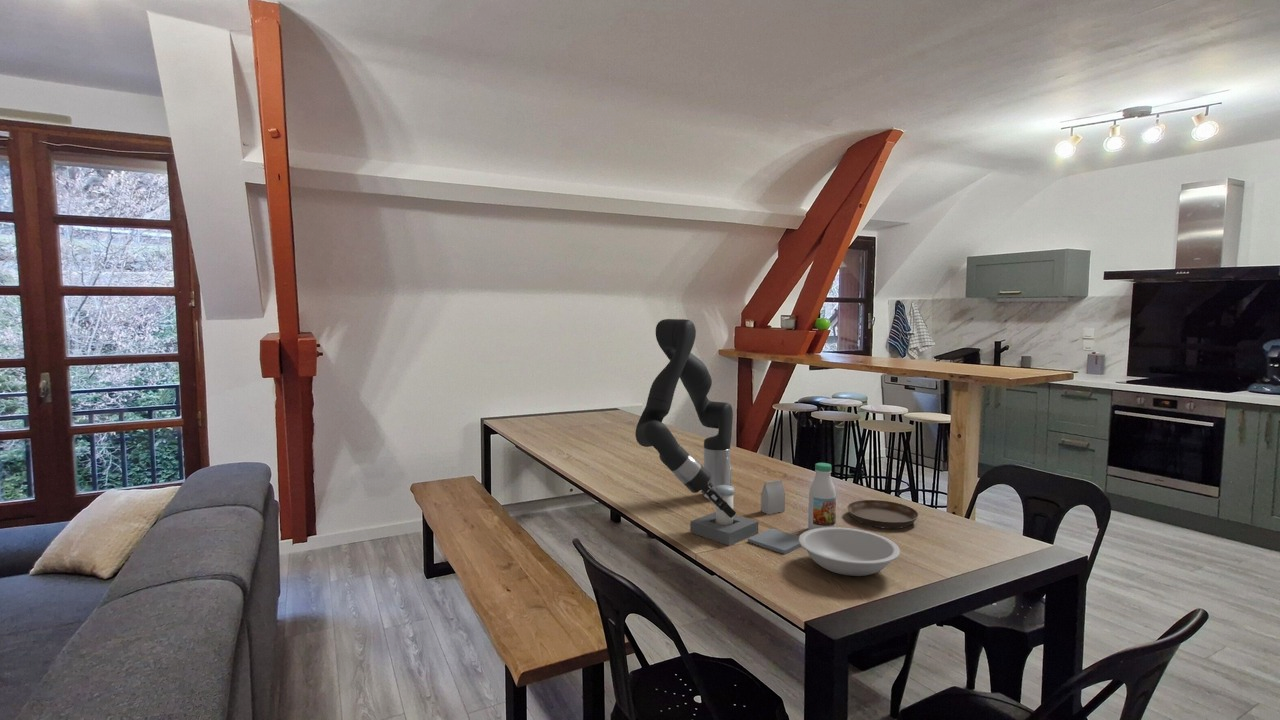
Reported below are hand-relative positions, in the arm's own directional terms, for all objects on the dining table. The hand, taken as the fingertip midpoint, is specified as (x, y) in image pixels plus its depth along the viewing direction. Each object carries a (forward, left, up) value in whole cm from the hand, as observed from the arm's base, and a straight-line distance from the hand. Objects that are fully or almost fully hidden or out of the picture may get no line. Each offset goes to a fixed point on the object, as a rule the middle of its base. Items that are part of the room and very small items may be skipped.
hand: (730, 512), depth 178 cm
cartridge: (+1, -1, -6) cm, 6 cm away
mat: (-4, +14, -6) cm, 16 cm away
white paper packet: (-26, -2, -6) cm, 26 cm away
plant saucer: (-44, +26, -7) cm, 51 cm away
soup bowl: (-1, +36, -6) cm, 36 cm away
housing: (+1, -1, -6) cm, 6 cm away
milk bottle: (-21, +18, -6) cm, 28 cm away
